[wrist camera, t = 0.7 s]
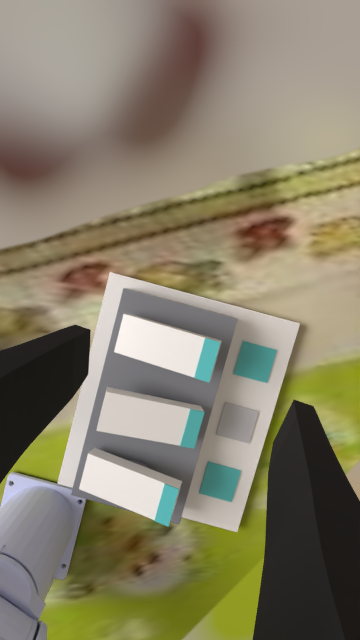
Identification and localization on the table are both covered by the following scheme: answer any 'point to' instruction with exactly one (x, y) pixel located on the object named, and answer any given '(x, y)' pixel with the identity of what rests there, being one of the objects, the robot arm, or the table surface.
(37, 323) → the table surface
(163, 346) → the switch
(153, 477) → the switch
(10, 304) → the table surface
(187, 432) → the middle switch
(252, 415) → the switch board
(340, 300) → the table surface
